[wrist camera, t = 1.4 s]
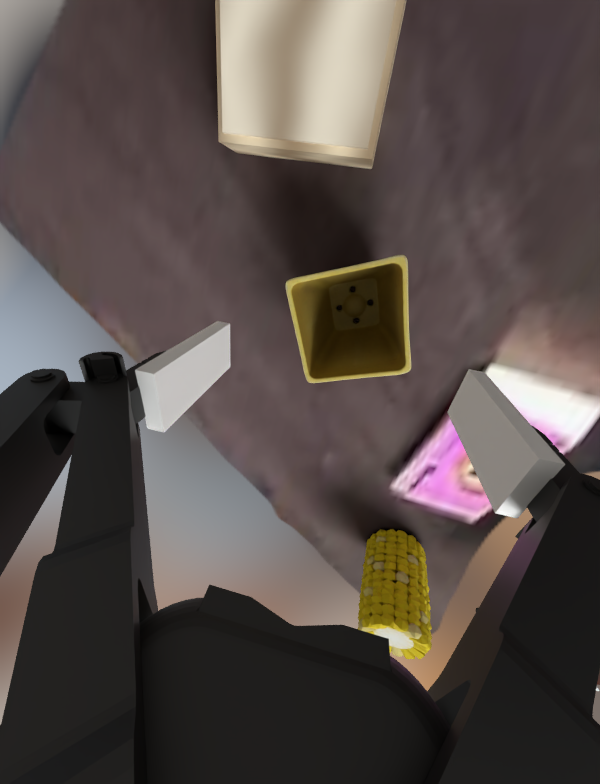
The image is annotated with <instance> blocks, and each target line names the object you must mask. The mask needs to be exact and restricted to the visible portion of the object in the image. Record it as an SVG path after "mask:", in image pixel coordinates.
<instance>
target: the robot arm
mask: <svg viewBox="0 0 600 784" xmlns="http://www.w3.org/2000/svg"><path fill="white" fill-rule="evenodd" d="M79 364H80V367H81V370H82V373H83V376H84V379H85V382H69V381H68V378H67V376H66V373H65V372H64V371H62V370H59V369H40V370H35V371H32V372H30V373H27V374H25V375H23V376H22V377H20V378H19V379H18V380H16V381H15V382H14V383H13V384H12V385H11V386H9V387H8V388H7V389H6V390H5V391H3V392H2V393H1V394H0V576H1V574H2V572H3V571H4V569H5V567H6V565H7V564H8V562H9V560H10V559H11V557H12V555H13V554H14V552H15V550H16V549H17V547H18V545H19V543H20V542H21V540H22V538H23V537H24V535H25V533H26V531H27V530H28V528H29V526H30V525H31V523H32V521H33V520H34V518H35V516H36V514H37V513H38V511H39V509H40V508H41V506H42V504H43V502H44V501H45V499H46V497H47V496H48V494H49V492H50V491H51V489H52V487H53V485H54V484H55V482H56V480H57V479H58V477H59V475H60V473H61V472H62V470H63V468H64V467H65V465H66V463H67V461H68V460H69V458H70V456H71V455H72V457H71V463H70V468H69V473H68V479H67V484H66V490H65V496H64V501H63V506H62V511H61V517H60V522H59V528H58V534H57V539H56V545H55V548H54V551H53V553H52V554H49V555H46V556H43V557H42V559H41V560H40V561H39V563H38V566H37V569H36V572H35V576H34V580H33V585H32V589H31V594H30V598H29V603H28V607H27V612H26V616H25V621H24V625H23V630H22V634H21V638H20V643H19V647H18V652H17V656H16V661H15V665H14V670H13V674H12V679H11V683H10V688H9V692H8V697H7V702H6V706H5V710H4V715H3V719H2V724H1V725H0V784H600V725H599V724H598V723H597V722H596V721H595V720H594V719H593V717H592V711H593V704H594V698H595V692H596V686H597V680H598V675H599V669H600V480H599V479H596V478H594V477H592V476H589V475H585V474H580V473H579V472H578V471H577V470H576V469H575V468H574V466H573V465H572V464H571V463H570V462H569V461H568V460H567V459H566V458H565V457H564V455H563V454H562V453H560V452H559V450H558V449H557V448H556V447H555V446H554V445H552V444H553V443H552V442H551V441H550V440H549V439H548V438H547V437H546V436H545V435H544V434H543V433H542V432H540V431H539V430H537V429H536V428H535V427H533V426H531V425H530V424H529V423H528V421H527V420H526V419H525V418H524V417H523V416H522V415H521V413H520V412H519V411H518V410H517V409H516V408H515V407H514V405H513V404H512V403H511V402H510V401H509V400H508V399H507V398H506V396H505V395H504V394H503V393H502V392H501V391H500V390H499V388H498V387H497V386H496V385H495V384H494V383H493V382H492V380H491V379H490V378H489V377H488V376H487V375H486V374H485V373H484V372H480V371H475V370H470V369H469V370H468V372H467V374H466V376H465V378H464V380H463V382H462V384H461V386H460V388H459V390H458V392H457V394H456V396H455V398H454V400H453V402H452V404H451V406H450V408H449V410H448V415H449V417H450V419H451V421H452V423H453V425H454V427H455V429H456V431H457V434H458V436H459V438H460V440H461V442H462V444H463V446H464V448H465V450H466V453H467V455H468V457H469V459H470V461H471V463H472V465H473V467H474V469H475V472H476V474H477V476H478V478H479V480H480V482H481V484H482V486H483V488H484V491H485V493H486V495H487V497H488V499H489V501H490V503H491V505H492V507H493V510H494V512H495V513H497V514H501V515H505V516H510V517H514V518H518V517H519V516H520V515H521V514H522V512H523V511H524V510H525V509H526V508H528V509H529V511H530V513H531V514H532V516H533V518H532V519H531V520H530V521H529V522H528V523H527V524H526V525H525V527H523V529H522V530H521V531H520V532H519V533H518V534H517V535H516V537H517V538H518V540H517V542H516V544H515V545H514V547H513V549H512V551H511V552H510V554H509V556H508V558H507V560H506V561H505V563H504V565H503V567H502V568H501V570H500V572H499V574H498V575H497V577H496V579H495V581H494V582H493V584H492V586H491V588H490V589H489V591H488V593H487V595H486V596H485V598H484V600H483V602H482V603H481V605H480V607H479V609H478V610H477V612H476V614H475V616H474V617H473V619H472V621H471V623H470V625H469V626H468V628H467V630H466V632H465V633H464V635H463V637H462V638H461V640H460V642H459V644H458V645H457V647H456V649H455V651H454V652H453V654H452V656H451V658H450V659H449V661H448V663H447V665H446V667H445V668H444V670H443V671H442V673H441V675H440V676H439V678H438V679H437V680H436V681H435V683H434V684H433V685H432V686H431V687H430V689H429V690H428V691H426V690H425V689H424V687H423V686H422V685H421V684H420V683H419V681H418V680H417V679H416V678H415V677H414V676H413V675H412V674H411V673H410V672H409V671H408V670H407V669H406V668H405V667H404V666H403V665H401V664H400V663H399V662H398V661H397V660H395V659H394V658H392V657H391V656H390V650H389V639H388V638H384V637H381V636H378V635H374V634H371V633H368V632H365V631H361V630H358V629H354V628H351V627H348V626H345V625H321V626H319V625H318V626H294V625H291V624H289V623H288V622H286V621H285V620H283V619H282V618H280V617H279V616H278V615H276V614H275V613H273V612H272V611H270V610H269V609H267V608H266V607H265V606H263V605H262V604H260V603H259V602H257V601H256V600H254V599H253V598H251V597H249V596H245V595H242V594H239V593H236V592H232V591H229V590H226V589H222V588H219V587H216V586H212V585H209V587H208V589H207V592H206V594H205V596H204V598H195V599H189V600H185V601H181V602H178V603H175V604H172V605H170V606H168V607H165V608H163V609H161V610H159V611H158V606H157V600H156V595H155V589H154V581H153V571H152V559H151V548H150V538H149V528H148V516H147V505H146V495H145V483H144V473H143V461H142V450H141V439H140V429H139V425H138V422H139V421H141V420H142V419H143V418H144V417H145V420H146V425H147V428H148V429H152V430H156V431H161V432H165V431H166V430H167V429H168V428H169V427H170V426H171V425H172V424H173V423H174V422H175V421H176V420H177V419H178V418H179V417H180V416H181V415H182V414H183V413H184V412H185V411H186V410H187V409H188V408H189V407H190V406H191V405H192V404H193V403H194V402H195V401H196V400H197V399H198V398H199V397H200V396H201V395H202V394H203V393H204V392H205V391H206V390H207V389H208V388H209V387H210V386H212V385H213V384H214V383H215V382H216V381H217V380H218V379H219V378H220V377H221V376H222V375H223V374H224V373H225V372H226V371H227V370H228V369H229V368H230V323H224V322H219V321H217V322H215V323H213V324H212V325H210V326H208V327H207V328H205V329H203V330H202V331H200V332H198V333H196V334H195V335H193V336H191V337H190V338H188V339H186V340H185V341H183V342H181V343H180V344H178V345H176V346H174V347H173V348H171V349H169V350H168V351H163V352H160V353H156V354H154V355H152V356H151V357H149V358H148V359H145V360H144V361H142V362H141V363H138V364H137V365H135V366H133V367H131V368H130V369H128V370H126V369H125V364H124V360H123V357H122V355H121V354H119V353H116V352H97V353H92V354H88V355H86V356H84V357H82V358H81V359H80V360H79Z"/></svg>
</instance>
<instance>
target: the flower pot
mask: <svg viewBox="0 0 600 784" xmlns="http://www.w3.org/2000/svg"><path fill="white" fill-rule="evenodd" d="M352 286H354V287H355V291H354V292H351V291H350V288H351V287H352ZM286 293H287V297H288V302H289V306H290V311H291V315H292V319H293V323H294V328H295V333H296V337H297V341H298V346H299V350H300V355H301V359H302V364H303V369H304V373H305V376H306V379H307V381H308V382H309V383H319V382H328V381H337V380H346V379H355V378H366V377H378V376H389V375H399V374H404V373H407V372H409V371H410V370H411V354H410V339H409V315H408V261H407V258H406V257H405V256H404V255H397V256H392V257H388V258H384V259H380V260H375V261H371V262H366V263H362V264H357V265H353V266H348V267H344V268H339V269H334V270H329V271H325V272H320V273H315V274H311V275H306V276H301V277H296V278H292V279H289V280H288V281H287V282H286ZM368 300H372V301H373V304H372V305H368V303H367V302H368ZM338 305H340V306H342V309H341V310H340V311H339V310H337V306H338ZM355 318H358V319H359V322H358V323H355V322H354V319H355Z"/></svg>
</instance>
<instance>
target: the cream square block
mask: <svg viewBox="0 0 600 784" xmlns="http://www.w3.org/2000/svg"><path fill="white" fill-rule="evenodd" d="M405 5H406V0H215V10H216V50H217V90H218V130H219V142H220V143H222V144H223V145H225V146H227V147H228V148H230V149H231V150H233V151H235V152H236V153H241V154H249V155H257V156H266V157H274V158H283V159H291V160H299V161H308V162H316V163H325V164H333V165H341V166H350V167H358V168H367V169H372V166H373V161H374V156H375V151H376V146H377V141H378V137H379V132H380V127H381V122H382V117H383V112H384V107H385V102H386V98H387V93H388V88H389V83H390V78H391V73H392V68H393V63H394V59H395V54H396V49H397V44H398V39H399V34H400V29H401V24H402V20H403V15H404V10H405Z"/></svg>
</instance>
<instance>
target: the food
mask: <svg viewBox="0 0 600 784" xmlns="http://www.w3.org/2000/svg"><path fill="white" fill-rule="evenodd" d="M366 548H367V549H366V556H365V562H364V564H363V567H364V569H363V572H364V573H363V575H362V577H363V578H362V584H361V594H360V603H359V609H360V610H359V616H358V619H359V623H358V624H359V627H358V630H361V631H365V632H368V633H371V634H374V635H378V636H381V637H384V638H388V639H389V650H390V652H391V651H392V653H393V655H395V656H403V655H404V656H405V658H406V659H415V656H416V657H418V658H419V659H421V658H423V657H424V656H425V654H426V653H427V652H428V651H429V650H430V649H431V645H432V644H431V642H430V640H431V639H432V636H431V632H430V631H429V630H430V629H431V628H432V627H431V624H430V612H429V611H430V609H431V608H430V605H429V601H430V598H429V595H428V592H429V587H428V585H427V583H428V580H427V571H426V568H427V565H426V564H425V561H426V557H425V556H426V555H425V552H424V549H423V548H422V546H421V545H420V543H419V542H418V541H417V542H416V538H415V537H414V536H413V535H407V534H406V533H405V532H404V531H401V530H398V531H397V532H396V531H395V530H394V529H390V530H387V531H385V530H382V529H380V530H379V531H378V532H377V533H376V534H372V536H371V537H370V539H367V546H366Z"/></svg>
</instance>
